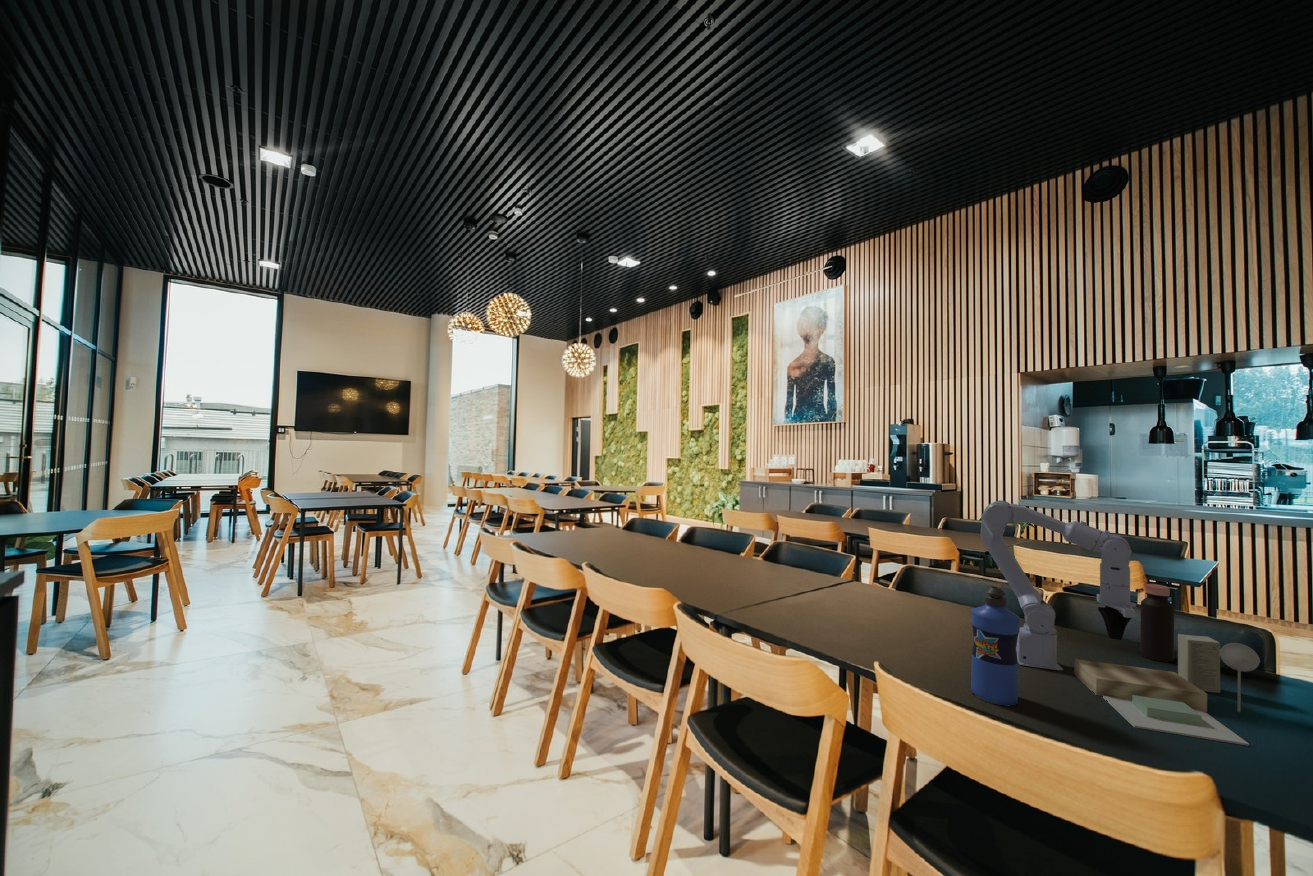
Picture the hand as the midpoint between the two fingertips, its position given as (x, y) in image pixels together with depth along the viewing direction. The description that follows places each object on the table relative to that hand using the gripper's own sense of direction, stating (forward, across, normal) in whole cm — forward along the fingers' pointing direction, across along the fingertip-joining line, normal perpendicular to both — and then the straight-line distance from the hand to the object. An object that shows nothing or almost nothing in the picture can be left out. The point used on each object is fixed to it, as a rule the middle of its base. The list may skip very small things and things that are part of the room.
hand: (1115, 638), depth 131 cm
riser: (+10, -6, -2) cm, 12 cm away
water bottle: (+10, -22, +31) cm, 40 cm away
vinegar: (+11, +23, -19) cm, 32 cm away
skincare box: (+11, +3, -18) cm, 21 cm away
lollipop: (+11, -9, -19) cm, 23 cm away
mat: (+10, -19, -2) cm, 22 cm away
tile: (+8, -18, -2) cm, 20 cm away
